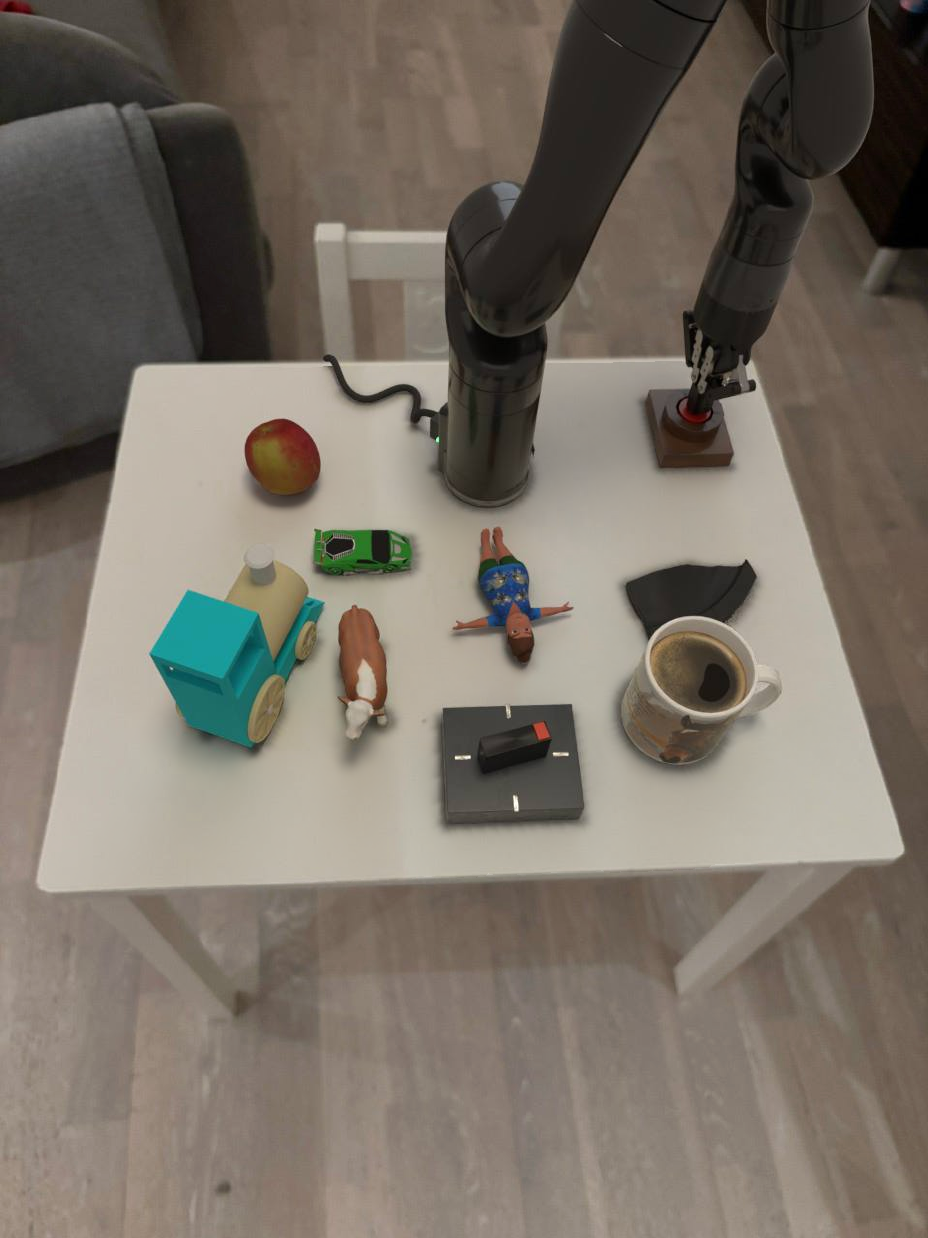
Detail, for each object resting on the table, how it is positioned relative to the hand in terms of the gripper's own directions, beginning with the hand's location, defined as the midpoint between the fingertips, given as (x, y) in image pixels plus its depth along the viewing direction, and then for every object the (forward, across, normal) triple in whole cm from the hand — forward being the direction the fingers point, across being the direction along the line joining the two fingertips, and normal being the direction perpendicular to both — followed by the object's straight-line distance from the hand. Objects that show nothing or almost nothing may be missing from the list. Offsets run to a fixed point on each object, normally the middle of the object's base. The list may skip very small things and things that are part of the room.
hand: (696, 409), depth 102 cm
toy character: (+4, -16, +28) cm, 32 cm away
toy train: (+4, -16, +53) cm, 56 cm away
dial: (+1, -33, +33) cm, 47 cm away
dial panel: (+4, -33, +34) cm, 47 cm away
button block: (+4, 0, 0) cm, 4 cm away
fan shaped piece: (+4, -22, +10) cm, 24 cm away
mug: (+4, -33, +16) cm, 37 cm away
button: (+2, 0, 0) cm, 2 cm away
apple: (+4, +6, +46) cm, 46 cm away
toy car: (+4, -6, +40) cm, 41 cm away
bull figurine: (+4, -22, +44) cm, 50 cm away
